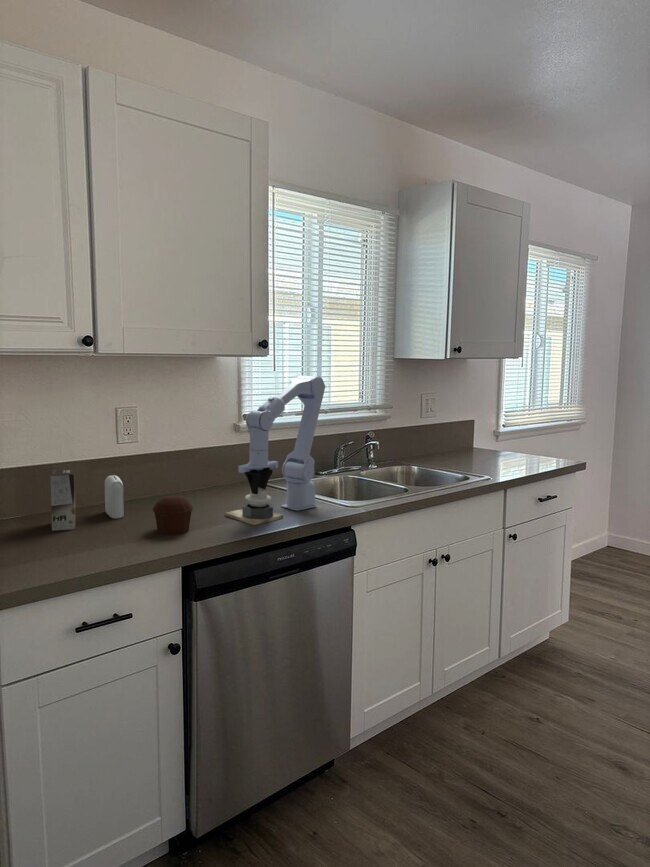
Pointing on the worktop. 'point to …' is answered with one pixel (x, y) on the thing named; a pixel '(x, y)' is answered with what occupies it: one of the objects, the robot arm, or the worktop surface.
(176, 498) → the muffin
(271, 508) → the grey faceted ring
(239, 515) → the mount board
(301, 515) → the worktop surface
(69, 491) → the coffee box
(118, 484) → the grey rounded upright block
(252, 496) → the white flanged knob
